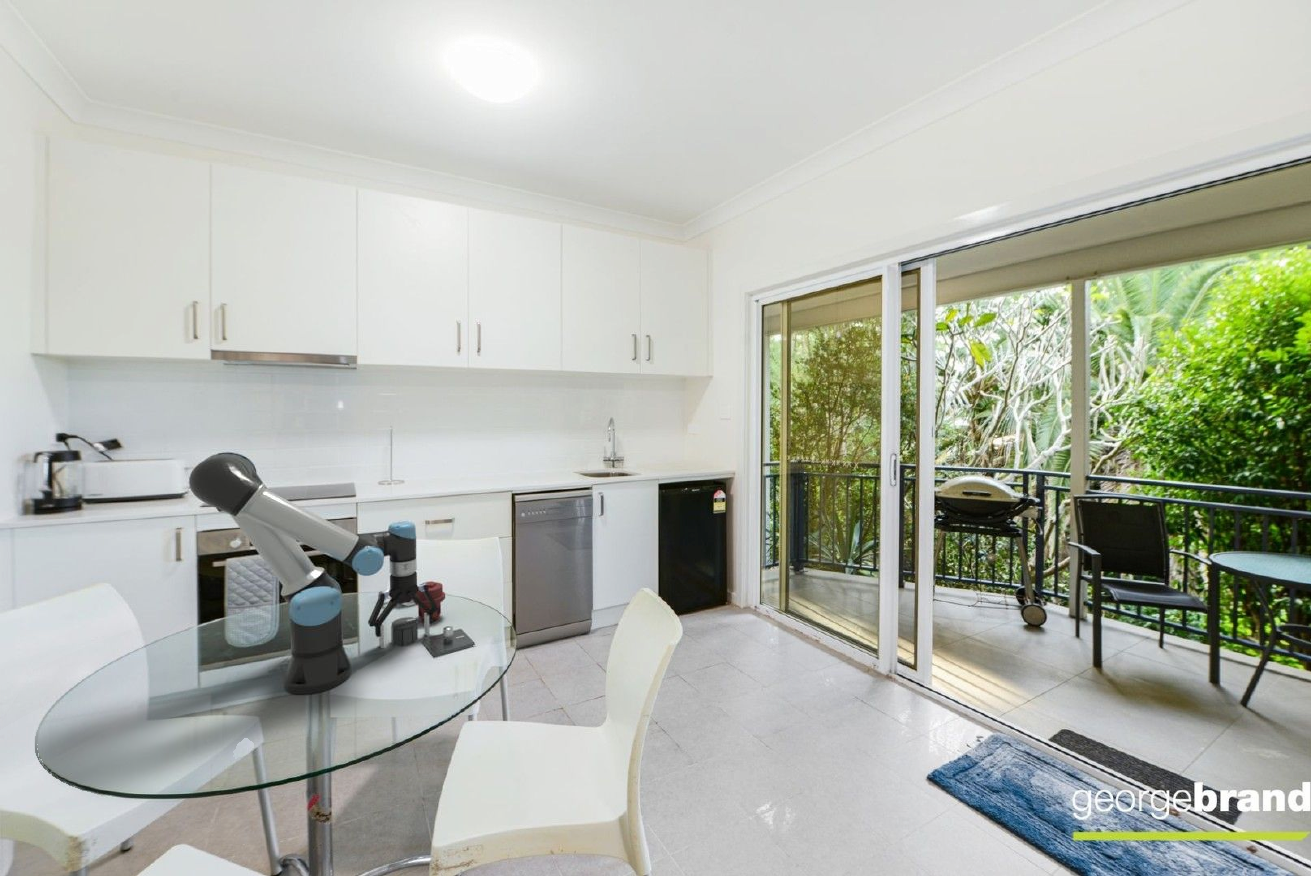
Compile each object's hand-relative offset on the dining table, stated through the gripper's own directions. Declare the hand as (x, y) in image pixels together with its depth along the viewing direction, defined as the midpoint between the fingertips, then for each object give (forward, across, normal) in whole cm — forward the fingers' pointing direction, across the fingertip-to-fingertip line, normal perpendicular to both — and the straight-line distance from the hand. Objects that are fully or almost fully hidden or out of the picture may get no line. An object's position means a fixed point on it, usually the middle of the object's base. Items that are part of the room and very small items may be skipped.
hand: (404, 640), depth 167 cm
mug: (0, +7, +32) cm, 33 cm away
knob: (0, 0, 0) cm, 0 cm away
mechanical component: (0, +11, +12) cm, 16 cm away
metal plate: (0, +10, -10) cm, 14 cm away
